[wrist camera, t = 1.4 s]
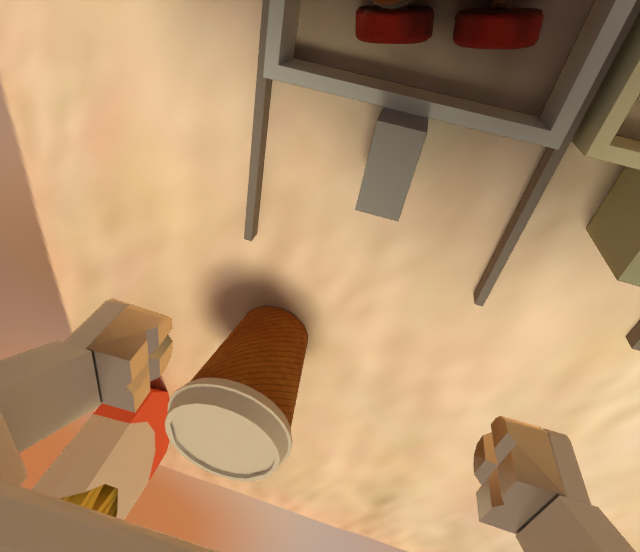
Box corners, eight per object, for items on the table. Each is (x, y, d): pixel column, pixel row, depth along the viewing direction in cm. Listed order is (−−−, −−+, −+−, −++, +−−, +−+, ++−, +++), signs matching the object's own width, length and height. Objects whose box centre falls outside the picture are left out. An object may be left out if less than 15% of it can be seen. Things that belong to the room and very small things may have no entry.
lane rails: (1046, -135, 16) (1085, -143, 15) (634, 339, 31) (640, 350, 30) (292, -263, 19) (284, -277, 18) (249, 231, 33) (244, 239, 33)
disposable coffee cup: (253, 271, 36) (184, 376, 26) (345, 331, 37) (311, 451, 27) (212, 334, 41) (142, 439, 32) (293, 384, 42) (250, 499, 33)
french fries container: (167, 376, 47) (44, 550, 32) (179, 435, 53) (81, 602, 38) (130, 367, 47) (-6, 533, 33) (146, 426, 54) (38, 587, 39)
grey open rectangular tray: (696, -168, 17) (794, -229, 13) (509, 209, 28) (524, 255, 23) (311, -235, 19) (267, -312, 14) (270, 147, 29) (237, 178, 24)
